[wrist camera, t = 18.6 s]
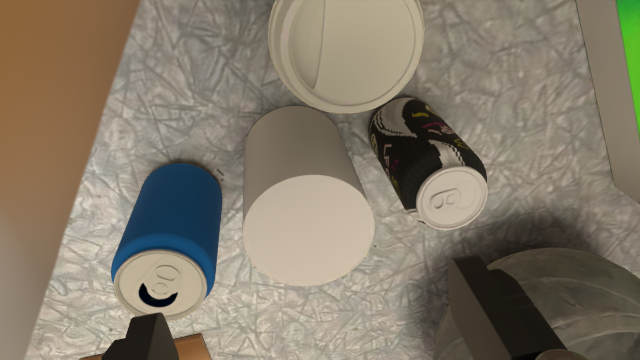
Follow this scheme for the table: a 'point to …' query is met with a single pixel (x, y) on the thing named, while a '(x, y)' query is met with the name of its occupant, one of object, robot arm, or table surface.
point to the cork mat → (182, 349)
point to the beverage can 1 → (170, 244)
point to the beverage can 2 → (428, 164)
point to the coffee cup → (345, 50)
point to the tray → (616, 82)
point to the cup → (302, 200)
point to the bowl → (568, 303)
